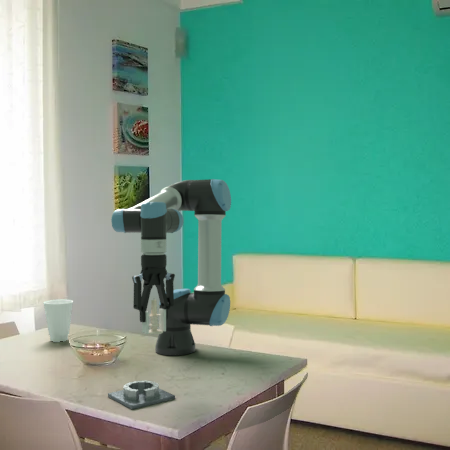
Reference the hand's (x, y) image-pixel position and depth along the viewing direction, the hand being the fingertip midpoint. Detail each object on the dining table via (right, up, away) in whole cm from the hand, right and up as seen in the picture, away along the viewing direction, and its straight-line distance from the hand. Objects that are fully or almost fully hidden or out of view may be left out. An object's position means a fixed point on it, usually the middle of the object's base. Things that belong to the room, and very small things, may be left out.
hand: (154, 331), depth 179 cm
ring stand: (-3, -18, -6) cm, 19 cm away
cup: (-47, -16, +69) cm, 85 cm away
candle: (0, 0, 0) cm, 0 cm away
